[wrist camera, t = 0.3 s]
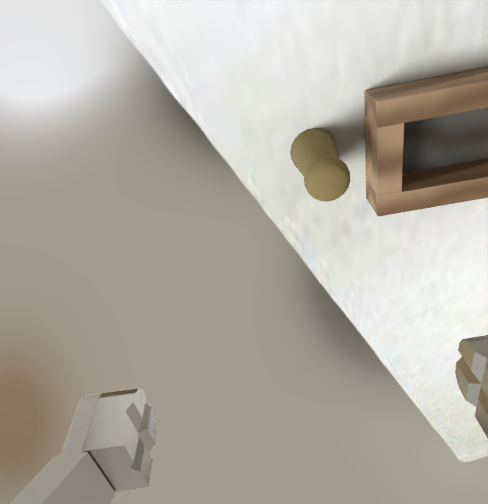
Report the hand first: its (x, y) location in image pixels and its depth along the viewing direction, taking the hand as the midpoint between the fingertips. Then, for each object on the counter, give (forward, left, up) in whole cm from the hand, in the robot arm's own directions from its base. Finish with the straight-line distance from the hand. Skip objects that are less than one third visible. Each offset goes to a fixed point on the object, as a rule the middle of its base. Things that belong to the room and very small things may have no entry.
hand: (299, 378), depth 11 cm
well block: (+13, +25, -46) cm, 54 cm away
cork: (+12, +8, -47) cm, 49 cm away
